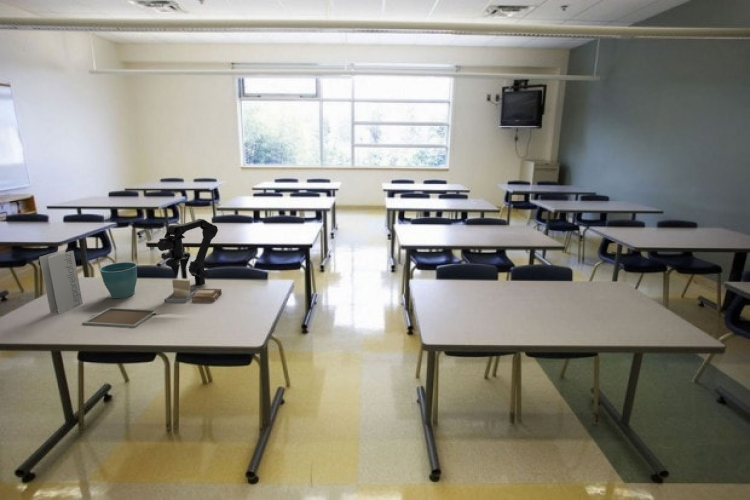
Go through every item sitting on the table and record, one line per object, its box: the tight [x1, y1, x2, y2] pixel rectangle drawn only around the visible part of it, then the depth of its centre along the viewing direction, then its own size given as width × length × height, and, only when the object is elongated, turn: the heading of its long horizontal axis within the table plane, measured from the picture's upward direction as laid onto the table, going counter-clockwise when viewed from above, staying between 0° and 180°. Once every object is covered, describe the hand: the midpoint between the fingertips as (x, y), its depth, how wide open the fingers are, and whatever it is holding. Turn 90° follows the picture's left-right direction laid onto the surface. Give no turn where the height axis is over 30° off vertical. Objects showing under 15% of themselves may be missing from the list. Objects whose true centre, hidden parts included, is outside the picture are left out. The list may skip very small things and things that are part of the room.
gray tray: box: [163, 287, 201, 303], centre depth 240 cm, size 19×12×3 cm, turn 0°
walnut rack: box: [191, 288, 222, 303], centre depth 238 cm, size 12×12×4 cm
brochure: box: [38, 249, 83, 315], centre depth 221 cm, size 14×6×30 cm, turn 168°
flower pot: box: [99, 261, 138, 299], centre depth 242 cm, size 18×18×17 cm
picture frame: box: [81, 306, 157, 329], centre depth 214 cm, size 19×2×30 cm
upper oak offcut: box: [195, 290, 215, 297], centre depth 234 cm, size 4×9×2 cm, turn 90°
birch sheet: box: [171, 279, 192, 298], centre depth 238 cm, size 2×9×10 cm, turn 90°
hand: (180, 273), depth 246 cm, fingers open, 9 cm apart
